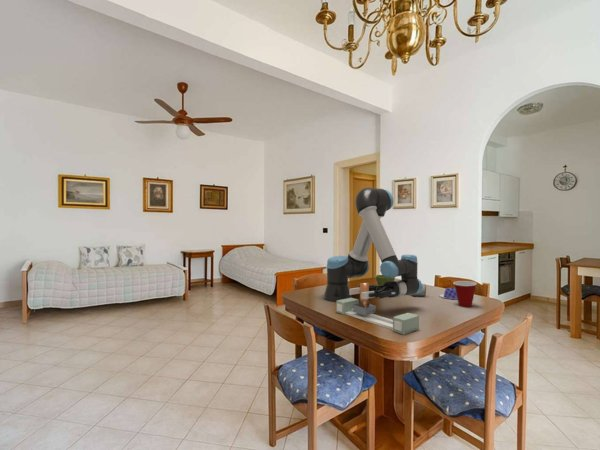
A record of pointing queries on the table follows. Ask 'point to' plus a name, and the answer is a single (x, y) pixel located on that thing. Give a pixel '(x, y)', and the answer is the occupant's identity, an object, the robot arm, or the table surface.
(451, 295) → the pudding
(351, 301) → the rail board
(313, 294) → the table surface
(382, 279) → the plant pot
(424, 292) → the ceramic mug
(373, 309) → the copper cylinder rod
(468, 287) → the plastic cup
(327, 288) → the robot arm
